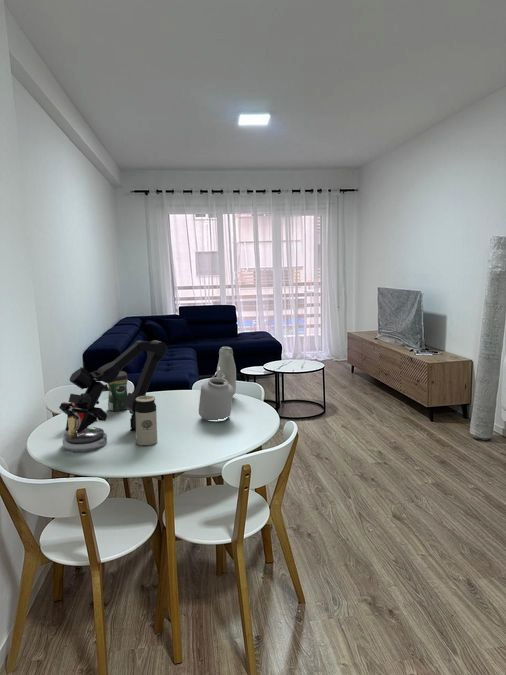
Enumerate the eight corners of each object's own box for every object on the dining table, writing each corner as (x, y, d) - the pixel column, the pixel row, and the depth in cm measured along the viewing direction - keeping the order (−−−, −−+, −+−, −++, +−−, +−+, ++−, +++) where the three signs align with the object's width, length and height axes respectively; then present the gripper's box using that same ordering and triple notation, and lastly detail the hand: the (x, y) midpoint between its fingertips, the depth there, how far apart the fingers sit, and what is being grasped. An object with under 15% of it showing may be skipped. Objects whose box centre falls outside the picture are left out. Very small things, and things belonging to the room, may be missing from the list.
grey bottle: (237, 396, 240) (237, 345, 236) (232, 401, 230) (232, 348, 226) (220, 394, 242) (220, 344, 238) (214, 400, 232) (214, 347, 228)
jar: (242, 422, 197) (242, 367, 194) (214, 428, 188) (214, 371, 185) (219, 411, 212) (219, 361, 209) (192, 417, 203) (192, 364, 200)
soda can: (82, 429, 186) (80, 402, 184) (67, 428, 188) (65, 401, 186) (91, 424, 193) (90, 398, 191) (77, 423, 194) (75, 397, 193)
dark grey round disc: (113, 437, 177) (113, 430, 177) (96, 453, 161) (95, 445, 161) (75, 436, 179) (75, 429, 178) (54, 451, 163) (54, 444, 162)
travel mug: (138, 438, 176) (137, 395, 174) (158, 438, 177) (157, 395, 174) (134, 446, 168) (132, 401, 166) (155, 446, 169) (154, 400, 166)
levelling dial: (98, 428, 179) (97, 406, 178) (108, 439, 168) (107, 415, 166) (62, 435, 172) (60, 411, 170) (69, 446, 160) (68, 421, 159)
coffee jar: (124, 405, 221) (123, 369, 219) (131, 409, 215) (130, 372, 213) (105, 409, 215) (104, 372, 213) (112, 412, 209) (110, 375, 207)
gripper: (61, 382, 168) (39, 418, 160) (101, 387, 162) (80, 425, 153) (77, 396, 177) (57, 431, 168) (115, 402, 170) (96, 439, 162)
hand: (72, 431), depth 163 cm, fingers open, 5 cm apart
